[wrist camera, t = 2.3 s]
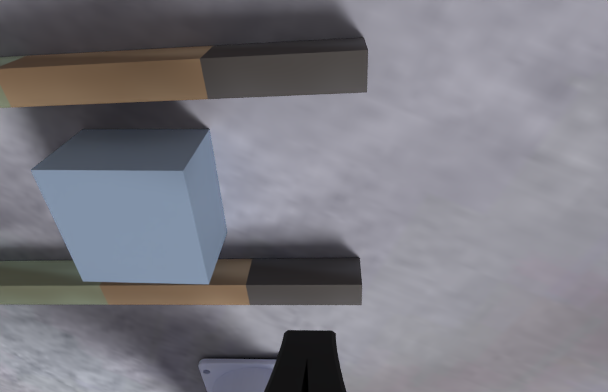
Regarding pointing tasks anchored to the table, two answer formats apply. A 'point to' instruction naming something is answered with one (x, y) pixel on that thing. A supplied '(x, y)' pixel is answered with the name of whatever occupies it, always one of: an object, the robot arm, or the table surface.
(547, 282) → the table surface
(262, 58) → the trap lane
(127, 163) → the slate block
